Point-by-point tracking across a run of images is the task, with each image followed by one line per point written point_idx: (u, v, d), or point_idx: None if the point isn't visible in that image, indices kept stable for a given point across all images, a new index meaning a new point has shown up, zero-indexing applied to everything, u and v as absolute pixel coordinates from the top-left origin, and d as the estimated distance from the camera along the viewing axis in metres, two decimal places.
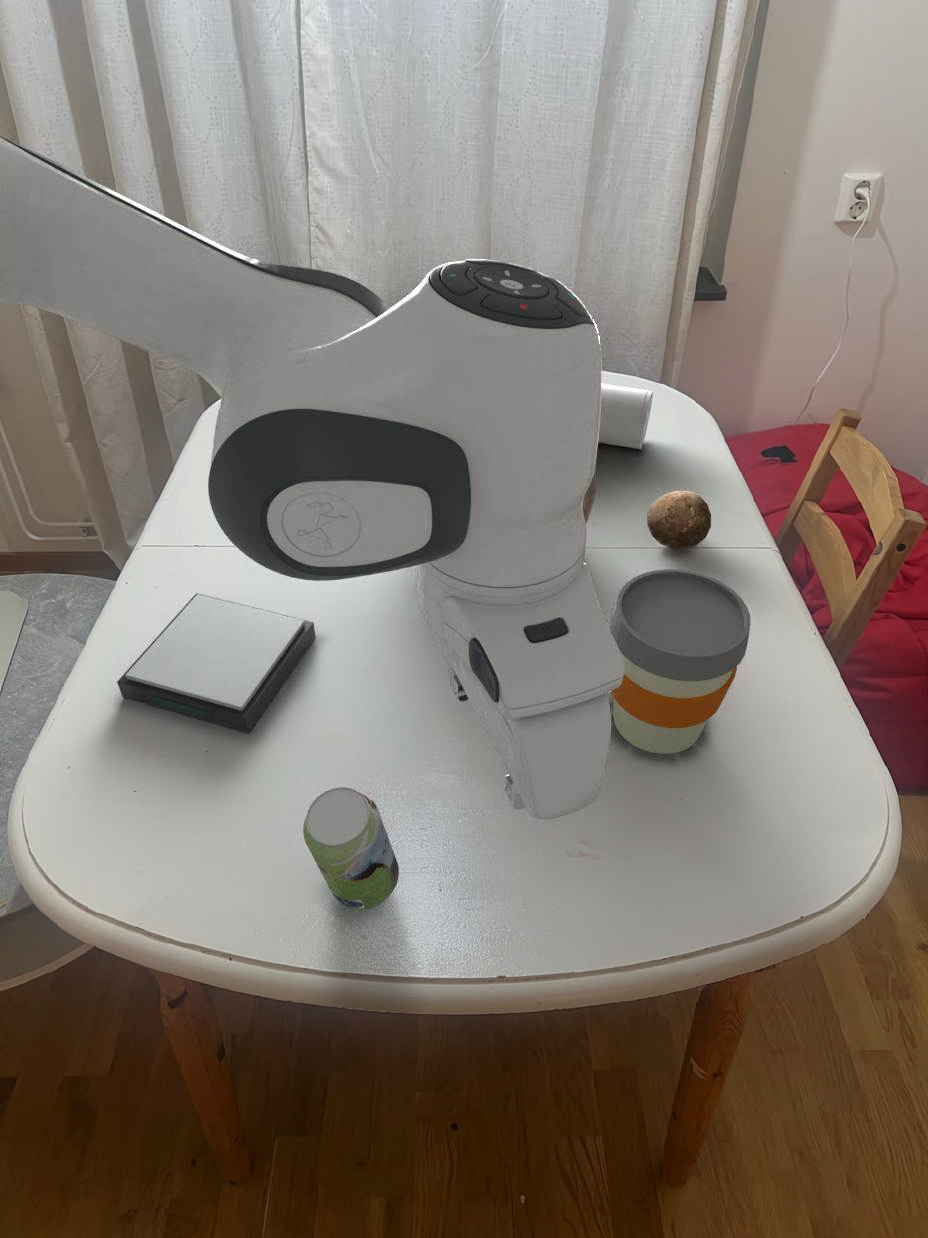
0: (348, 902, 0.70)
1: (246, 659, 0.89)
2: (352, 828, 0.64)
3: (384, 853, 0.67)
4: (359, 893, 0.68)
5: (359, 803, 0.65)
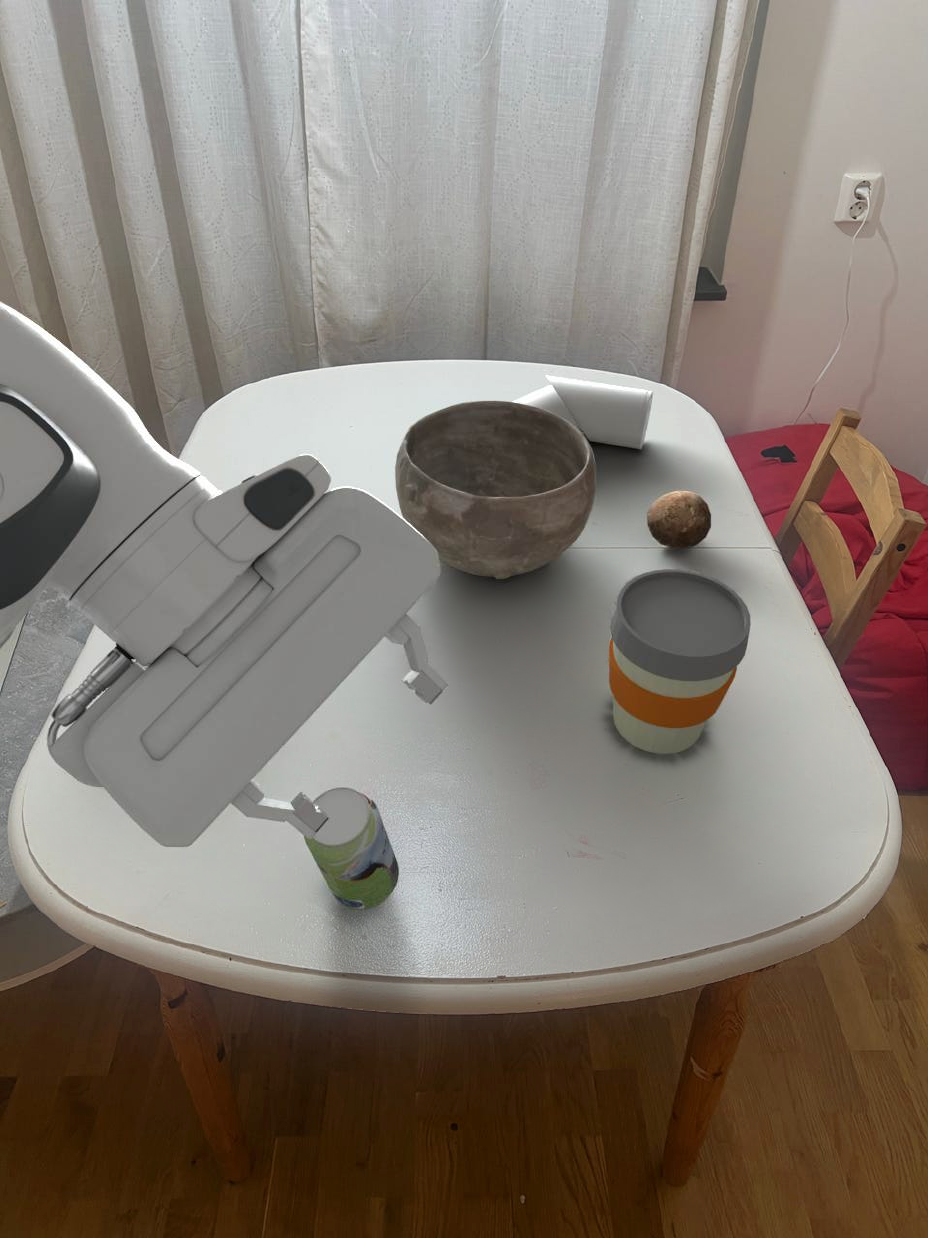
0: (348, 902, 0.70)
1: None
2: (352, 828, 0.64)
3: (384, 853, 0.67)
4: (359, 893, 0.68)
5: (359, 803, 0.65)
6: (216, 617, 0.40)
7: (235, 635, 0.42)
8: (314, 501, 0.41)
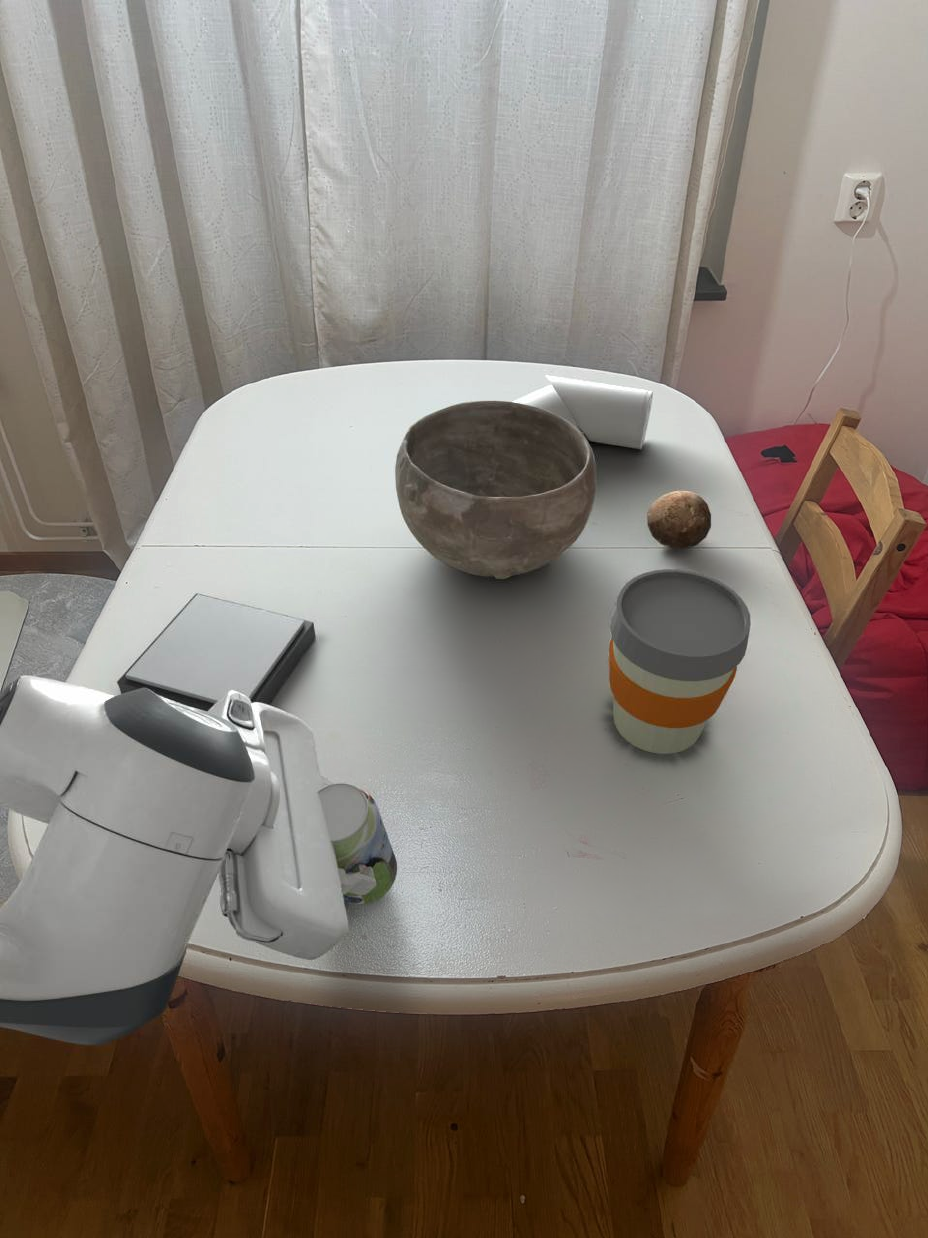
0: (348, 898, 0.70)
1: (246, 659, 0.89)
2: (352, 823, 0.64)
3: (382, 847, 0.68)
4: None
5: (357, 798, 0.66)
6: None
7: None
8: (252, 710, 0.65)
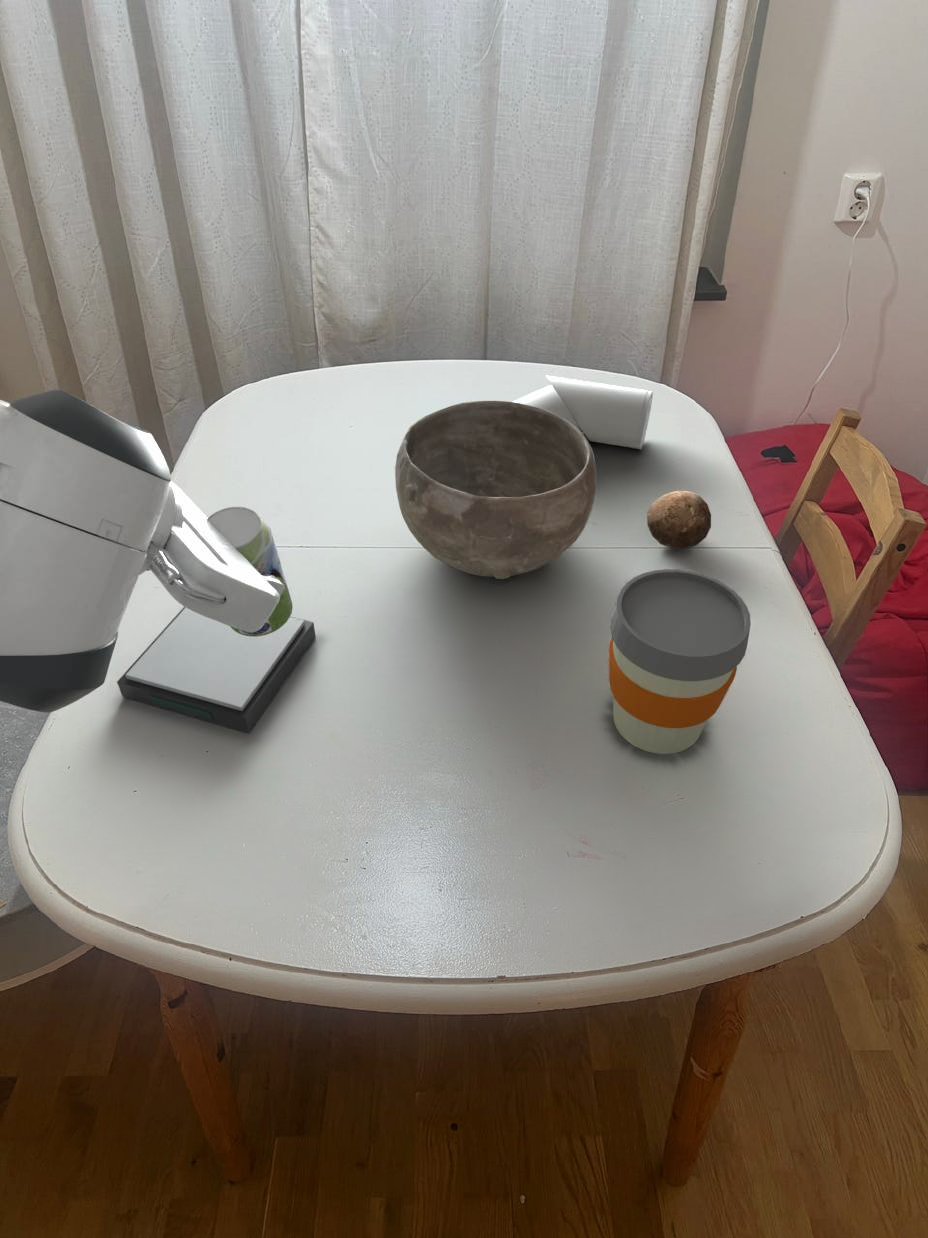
0: None
1: (246, 659, 0.89)
2: (250, 532, 0.69)
3: (279, 562, 0.73)
4: None
5: (247, 514, 0.71)
6: None
7: None
8: None
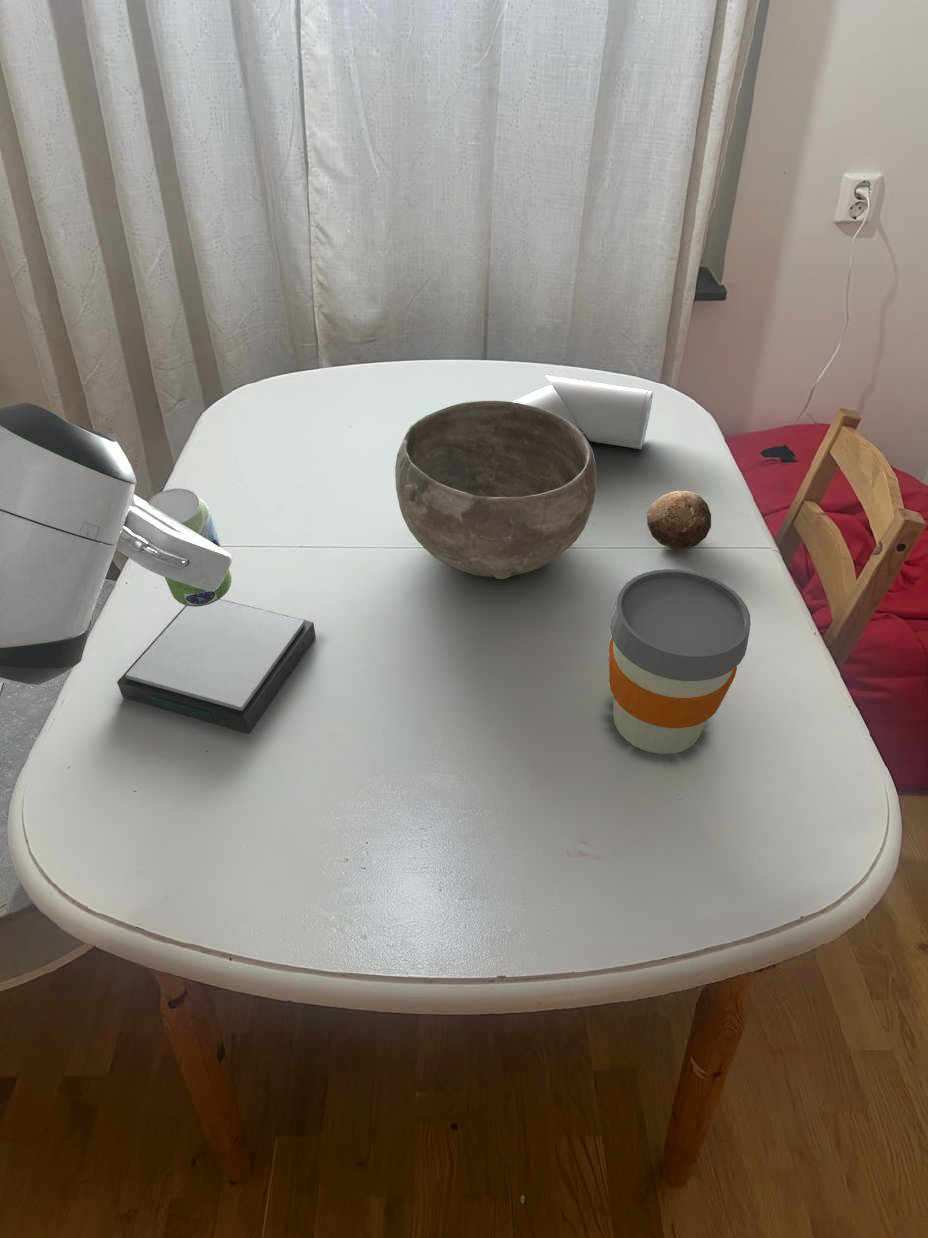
0: (203, 597, 0.83)
1: (246, 659, 0.89)
2: (190, 508, 0.78)
3: (217, 535, 0.82)
4: None
5: (183, 493, 0.79)
6: None
7: None
8: None
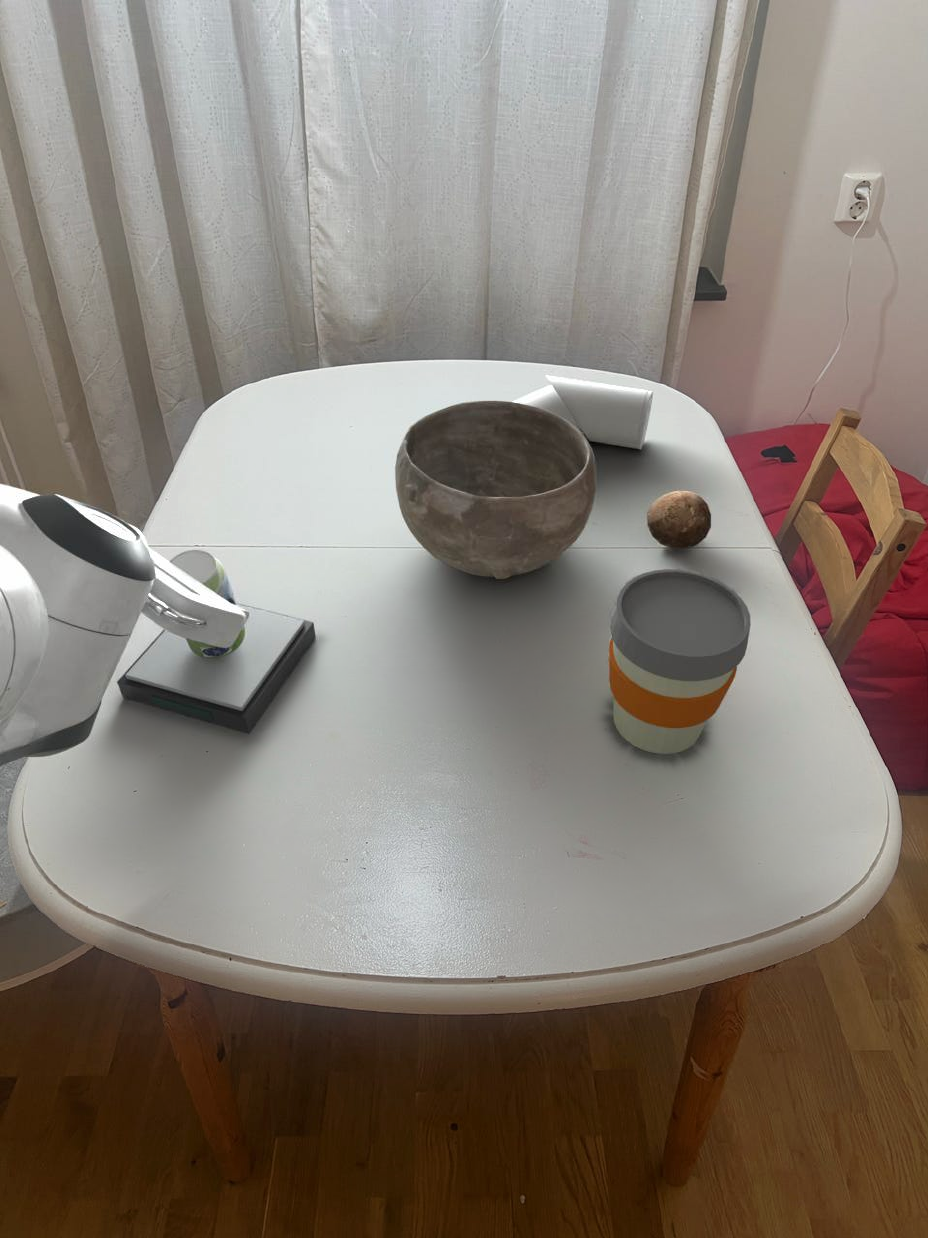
0: (218, 650, 0.88)
1: (246, 659, 0.89)
2: (207, 570, 0.82)
3: (232, 592, 0.86)
4: None
5: (201, 555, 0.83)
6: None
7: None
8: None
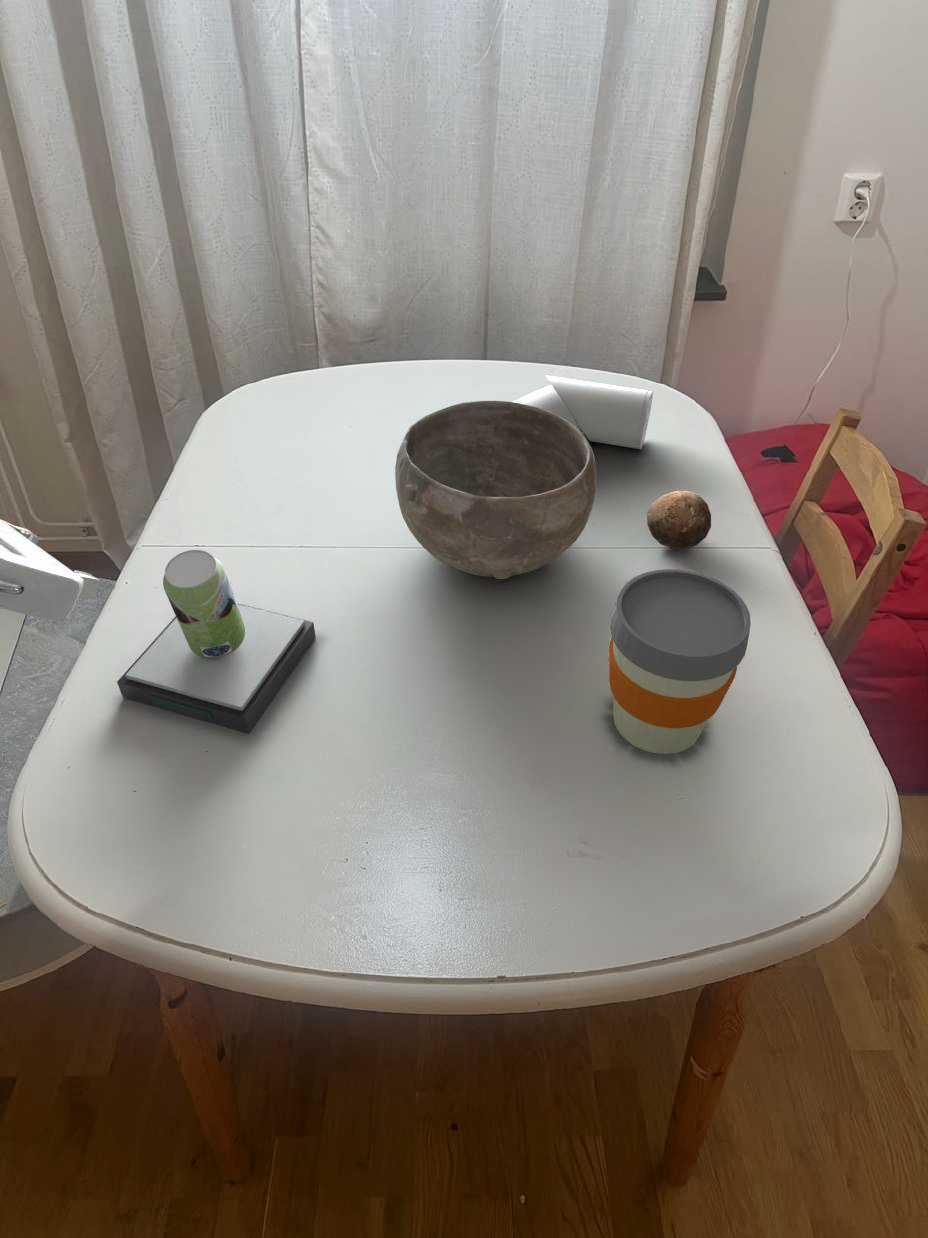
0: (218, 650, 0.88)
1: (246, 659, 0.89)
2: (207, 570, 0.82)
3: (232, 592, 0.86)
4: (226, 633, 0.87)
5: (201, 555, 0.83)
6: None
7: None
8: None
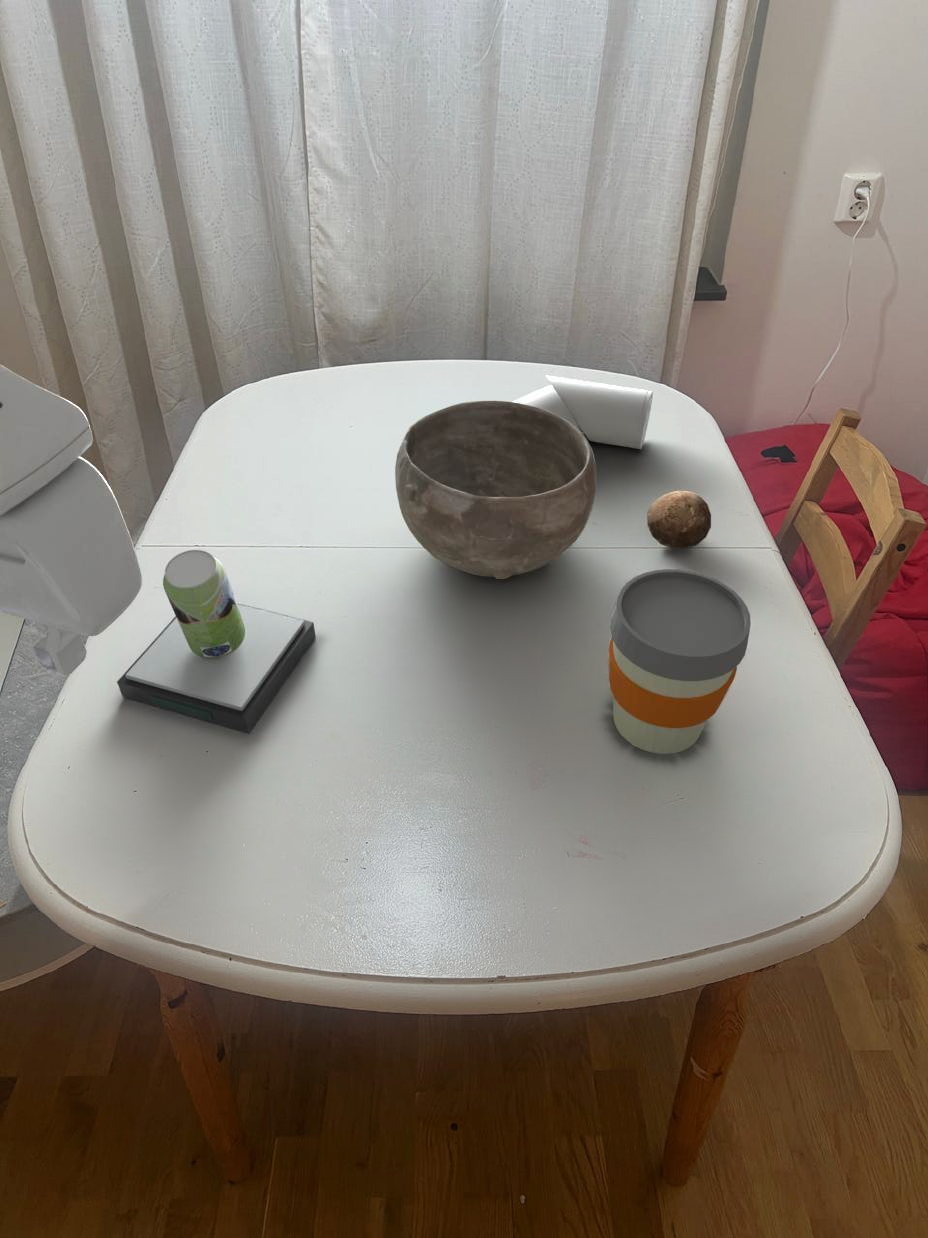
0: (218, 650, 0.88)
1: (246, 659, 0.89)
2: (207, 570, 0.82)
3: (232, 592, 0.86)
4: (226, 633, 0.87)
5: (201, 555, 0.83)
6: None
7: None
8: None
